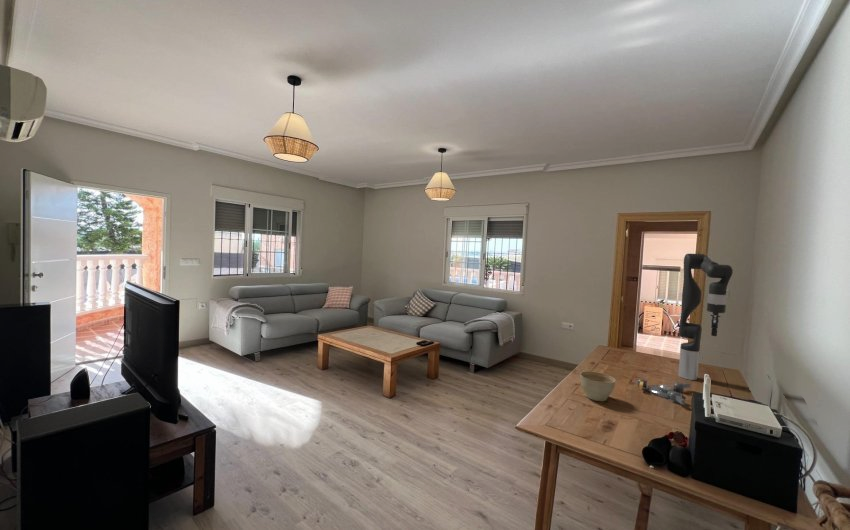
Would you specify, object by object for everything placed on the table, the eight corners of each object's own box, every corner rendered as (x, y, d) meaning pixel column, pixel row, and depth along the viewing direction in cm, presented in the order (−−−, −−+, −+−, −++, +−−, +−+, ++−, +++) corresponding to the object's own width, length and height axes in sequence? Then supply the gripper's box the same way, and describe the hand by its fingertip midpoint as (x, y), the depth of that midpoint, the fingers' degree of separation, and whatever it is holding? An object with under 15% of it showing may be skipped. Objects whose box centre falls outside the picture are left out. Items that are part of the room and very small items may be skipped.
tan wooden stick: (637, 383, 200) (638, 377, 200) (646, 385, 197) (647, 379, 197) (635, 388, 192) (636, 383, 191) (645, 391, 189) (645, 385, 189)
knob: (667, 397, 182) (668, 390, 182) (677, 398, 181) (677, 391, 181) (678, 405, 172) (678, 399, 172) (688, 406, 171) (688, 400, 171)
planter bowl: (612, 407, 169) (614, 385, 169) (576, 398, 178) (577, 377, 177) (615, 396, 183) (616, 375, 182) (581, 388, 191) (582, 368, 191)
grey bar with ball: (679, 391, 191) (680, 385, 191) (671, 388, 195) (672, 382, 195) (692, 389, 194) (693, 383, 194) (684, 386, 198) (685, 380, 198)
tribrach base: (643, 382, 206) (643, 375, 205) (683, 392, 193) (684, 384, 193) (635, 392, 189) (636, 385, 189) (679, 404, 177) (680, 396, 177)
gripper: (708, 300, 193) (705, 332, 194) (706, 303, 183) (704, 336, 184) (726, 302, 188) (723, 335, 189) (725, 305, 178) (722, 339, 179)
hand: (713, 335), depth 187 cm, fingers closed
